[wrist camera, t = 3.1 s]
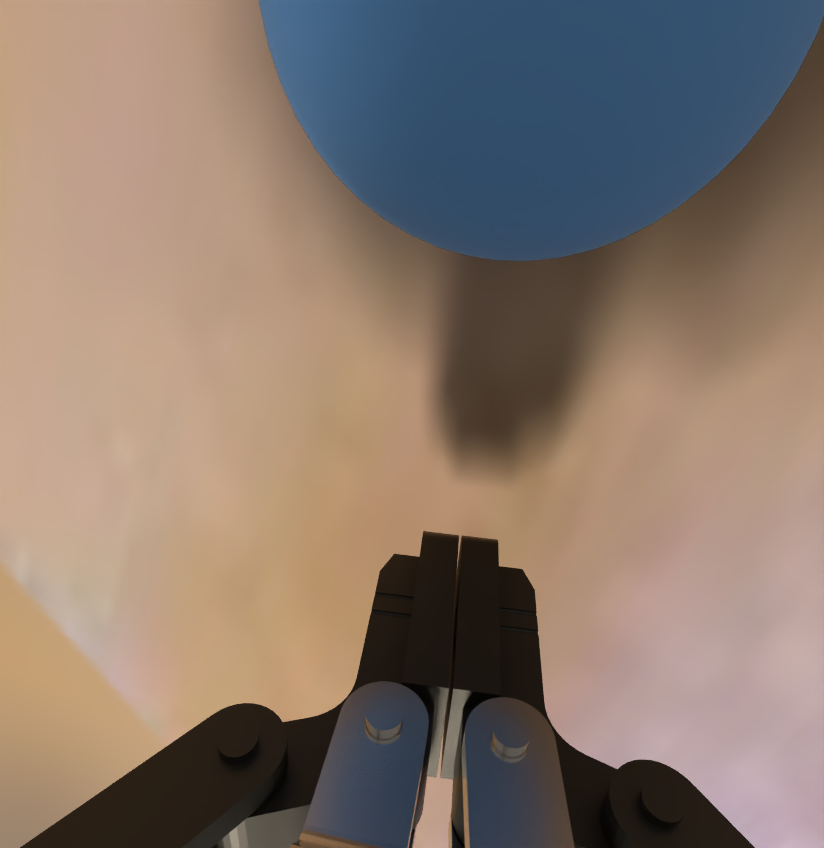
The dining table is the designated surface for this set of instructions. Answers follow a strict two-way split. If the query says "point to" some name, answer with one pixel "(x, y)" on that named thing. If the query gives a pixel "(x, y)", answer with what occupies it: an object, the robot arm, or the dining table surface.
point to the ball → (533, 108)
